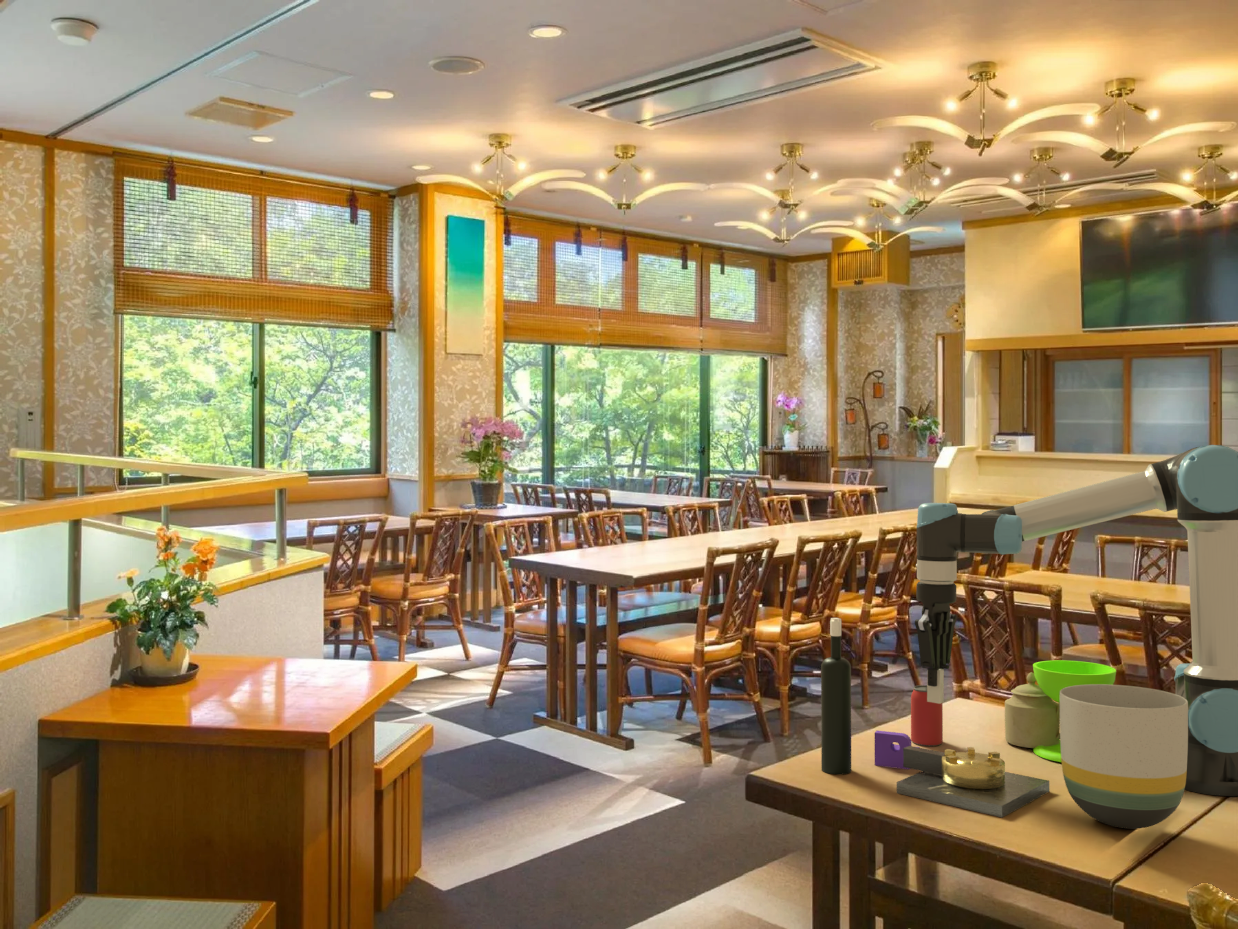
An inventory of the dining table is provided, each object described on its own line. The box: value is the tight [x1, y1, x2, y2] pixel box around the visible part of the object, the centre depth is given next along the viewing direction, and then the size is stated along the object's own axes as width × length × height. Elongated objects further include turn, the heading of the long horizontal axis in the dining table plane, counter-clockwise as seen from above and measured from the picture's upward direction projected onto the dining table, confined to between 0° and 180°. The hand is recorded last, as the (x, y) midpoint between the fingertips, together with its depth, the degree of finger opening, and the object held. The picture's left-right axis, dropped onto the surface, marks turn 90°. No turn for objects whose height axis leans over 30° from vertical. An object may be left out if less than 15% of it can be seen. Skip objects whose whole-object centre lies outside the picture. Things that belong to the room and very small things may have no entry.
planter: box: [1060, 684, 1188, 830], centre depth 181 cm, size 20×20×21 cm
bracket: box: [874, 730, 921, 770], centre depth 220 cm, size 12×7×7 cm, turn 154°
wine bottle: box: [820, 617, 852, 775], centre depth 212 cm, size 6×6×30 cm
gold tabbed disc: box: [903, 745, 1006, 789], centre depth 201 cm, size 19×11×5 cm, turn 46°
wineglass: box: [1032, 659, 1117, 763], centre depth 224 cm, size 16×16×18 cm
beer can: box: [910, 684, 944, 747], centre depth 232 cm, size 7×7×12 cm
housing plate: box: [896, 771, 1050, 818], centre depth 198 cm, size 20×20×2 cm
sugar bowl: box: [1004, 671, 1060, 749], centre depth 231 cm, size 15×11×15 cm
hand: (935, 702), depth 211 cm, fingers closed
